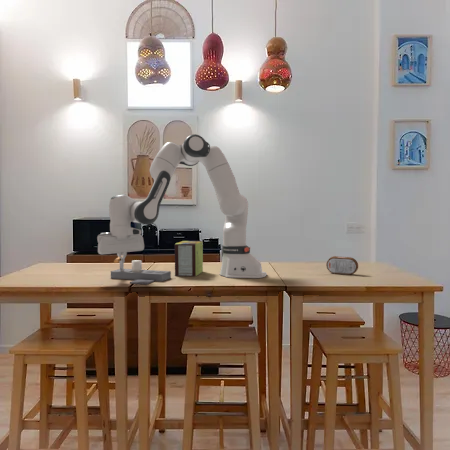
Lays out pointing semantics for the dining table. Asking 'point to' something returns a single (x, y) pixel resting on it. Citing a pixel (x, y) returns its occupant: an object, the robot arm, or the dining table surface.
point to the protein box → (188, 258)
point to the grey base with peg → (140, 274)
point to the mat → (142, 281)
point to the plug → (136, 266)
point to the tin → (342, 265)
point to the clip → (117, 259)
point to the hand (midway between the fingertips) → (122, 262)
